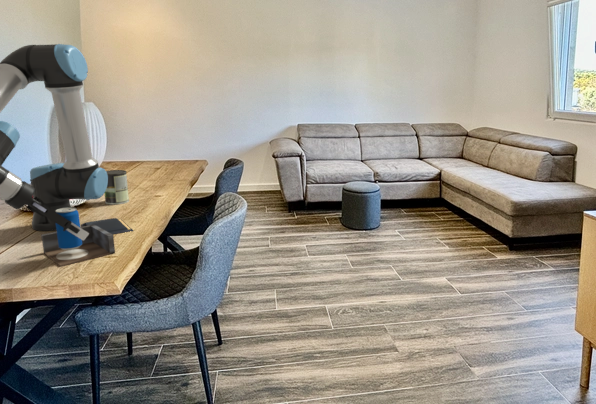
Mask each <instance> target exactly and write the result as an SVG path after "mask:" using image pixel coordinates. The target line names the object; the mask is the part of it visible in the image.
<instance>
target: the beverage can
mask: <svg viewBox="0 0 596 404" xmlns="http://www.w3.org/2000/svg"><path fill="white" fill-rule="evenodd" d="M56 213H58V214H59V215H61V216H62V217H64V218H65V219H67V220H69V221H71V222H72V223H74V224H75V225H77V226H79V227H81V222H80V215H79V214H80V213H79V211H78V210H77V208H76V207H73V206H71V207H67V208H61V209H57V210H56ZM63 229H64V228H63V227H62V226H60V225H58V224H57V223H56V230H55V231H56V232H57V238H58V245H59V248H61V249H62V250H74V249H77V248H79V247H80V246H81V245H82V240H81V239H80V238H78V237H77V236H75V235H73V234H72V233H70V232H69V231H67V230H66V231H65V232H64V231H63Z"/></svg>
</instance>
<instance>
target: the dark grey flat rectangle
mask: <svg viewBox="0 0 596 404" xmlns="http://www.w3.org/2000/svg"><path fill="white" fill-rule="evenodd" d="M93 224H94V225H96V226H98V227H100V228H102V229H103V230H105V231H107V232H109V233H111V234H112V235H113V236H114V235H119V234H120V235H121V234H124V233H125V232H126V233H130V231H131V232H134V229H133V228H132V227H130V226H129V225H128V224H127V223H126V222H125V221H124V220H123V219H122V218H116V217H114V218H104V219H100V220H91V221H88V222H86V221H85V222H84V223H82V224H81V223H80V227H83V226H88V225H93Z"/></svg>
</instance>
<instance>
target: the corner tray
mask: <svg viewBox="0 0 596 404" xmlns="http://www.w3.org/2000/svg"><path fill="white" fill-rule="evenodd" d="M80 228H82V229H83V230H85V231H86V232H88V233H89V235H88V236H87V237H86V239H85V240H84V241H83V240H82V245H81V246H80V247H79V248H77V249H74V250H62V249H61V248H59V245H58V238H57V231H54V232H49V233H43V234H41V236H40V237H41V243H42V249H43V250H42V251H43V254H45V255H46V256H47V257H48V258H49V259H50V260H51V261H52V262H54V263H55V264H56V265H58V266H59V268H61V267H65V266H69V265H73V264H77V263H82V262H85V261H89V260H93V259H97V258H101V257H105V256H108V255H113V254H116V247H115V239H114V235H112V234H111V233H109V232H107V231H105V230H103V229H102V228H100V227H98V226H96V225H94V224H93V225H88V226H83V227H82V226H80Z"/></svg>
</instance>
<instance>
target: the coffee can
mask: <svg viewBox="0 0 596 404" xmlns="http://www.w3.org/2000/svg"><path fill="white" fill-rule="evenodd" d="M105 171H106V172H107V175H108V184H107V188H106V191H105V193H104V200H105V205H113V206H115V205H122V204H123V205H124V204H128V203H129V201H130V198H129V187H128V186H129V185H128V179H127V170H123V169H111V170H105Z"/></svg>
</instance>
